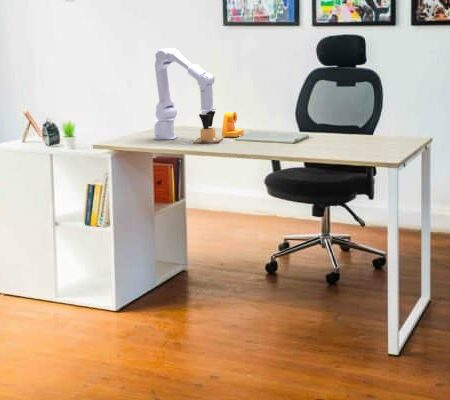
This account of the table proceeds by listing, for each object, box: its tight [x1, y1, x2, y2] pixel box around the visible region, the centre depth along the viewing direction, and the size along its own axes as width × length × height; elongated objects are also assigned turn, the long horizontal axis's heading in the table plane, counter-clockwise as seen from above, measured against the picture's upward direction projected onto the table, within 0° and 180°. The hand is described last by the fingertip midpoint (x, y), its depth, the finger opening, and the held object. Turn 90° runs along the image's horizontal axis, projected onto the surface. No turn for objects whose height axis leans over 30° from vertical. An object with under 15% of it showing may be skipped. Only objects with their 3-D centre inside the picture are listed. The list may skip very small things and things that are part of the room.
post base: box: [193, 136, 224, 145], centre depth 449 cm, size 12×12×1 cm
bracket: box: [221, 111, 245, 138], centre depth 462 cm, size 11×7×12 cm, turn 154°
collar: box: [200, 127, 216, 140], centre depth 449 cm, size 6×6×5 cm
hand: (207, 127), depth 448 cm, fingers open, 7 cm apart
